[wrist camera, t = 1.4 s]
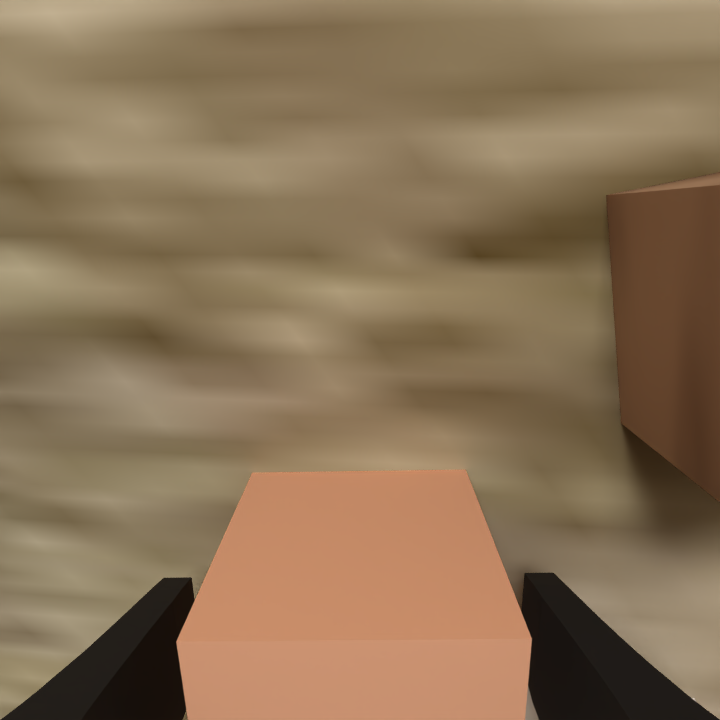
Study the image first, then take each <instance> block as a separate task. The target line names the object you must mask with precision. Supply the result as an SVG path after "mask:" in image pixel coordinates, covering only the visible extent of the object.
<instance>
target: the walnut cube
mask: <svg viewBox="0 0 720 720" xmlns="http://www.w3.org/2000/svg"><path fill="white" fill-rule="evenodd" d="M606 198H607V214H608V229H609V245H610V260H611V275H612V291H613V306H614V321H615V337H616V352H617V367H618V383H619V398H620V413H621V423H622V424H623V425H624V426H625V427H627V428H628V429H629V430H630V431H632V432H633V433H634V434H635V435H637V436H638V437H639V438H640V439H642V440H643V441H644V442H645V443H646V444H648V445H649V446H650V447H651V448H653V449H654V450H655V451H656V452H658V453H659V454H660V455H661V456H663V457H664V458H665V459H666V460H668V461H669V462H670V463H671V464H673V465H674V466H675V467H676V468H677V469H679V470H680V471H681V472H682V473H684V474H685V475H686V476H687V477H689V478H690V479H691V480H692V481H694V482H695V483H696V484H697V485H699V486H700V487H701V488H702V489H704V490H705V491H706V492H707V493H709V494H710V495H711V496H712V497H713V498H715V499H716V500H717V501H718V502H720V172H718V173H713V174H709V175H704V176H699V177H694V178H689V179H684V180H679V181H674V182H669V183H664V184H659V185H654V186H649V187H644V188H640V189H635V190H630V191H625V192H620V193H615V194H610V195H606Z"/></svg>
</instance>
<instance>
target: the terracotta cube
mask: <svg viewBox="0 0 720 720" xmlns="http://www.w3.org/2000/svg"><path fill="white" fill-rule="evenodd" d="M176 643H177V650H178V656H179V663H180V670H181V676H182V683H183V690H184V697H185V703H186V710H187V717H188V720H525V714H526V703H527V691H528V679H529V667H530V656H531V644H532V638H531V635H530V633H529V630H528V628H527V625H526V622H525V620H524V617H523V615H522V612H521V610H520V607H519V605H518V602H517V599H516V597H515V594H514V592H513V589H512V587H511V584H510V582H509V579H508V576H507V574H506V571H505V569H504V566H503V564H502V561H501V559H500V556H499V554H498V551H497V548H496V546H495V543H494V541H493V538H492V536H491V533H490V531H489V528H488V525H487V523H486V520H485V518H484V515H483V513H482V510H481V508H480V505H479V502H478V500H477V497H476V495H475V492H474V490H473V487H472V485H471V482H470V479H469V477H468V474H467V472H466V470H411V471H342V472H274V473H252V474H251V477H250V479H249V481H248V483H247V486H246V488H245V490H244V492H243V494H242V497H241V499H240V501H239V503H238V506H237V508H236V510H235V512H234V514H233V517H232V519H231V521H230V523H229V526H228V528H227V530H226V532H225V534H224V537H223V539H222V541H221V543H220V546H219V548H218V550H217V552H216V554H215V557H214V559H213V561H212V563H211V566H210V568H209V570H208V572H207V574H206V577H205V579H204V581H203V583H202V586H201V588H200V590H199V592H198V594H197V597H196V599H195V601H194V603H193V606H192V608H191V610H190V612H189V615H188V617H187V619H186V621H185V623H184V626H183V628H182V630H181V632H180V635H179V637H178V639H177V641H176Z"/></svg>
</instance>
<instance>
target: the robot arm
mask: <svg viewBox="0 0 720 720" xmlns="http://www.w3.org/2000/svg"><path fill="white" fill-rule="evenodd" d="M194 601H195V600H194V593H193V585H192V578H163V579H162V580H161V581H160V582H159V583H158V584H156V585H155V586H154V587H153V588H152V589H151V590H150V591H149V592H148V593H147V594H146V595H145V596H144V597H142V598H141V599H140V600H139V601H138V602H137V603H136V604H135V605H134V606H133V607H132V608H131V609H130V610H129V611H128V612H127V613H126V614H124V615H123V616H122V617H121V618H120V619H119V620H118V621H117V622H116V623H115V624H114V625H113V626H112V627H110V628H109V629H108V630H107V631H106V632H105V633H104V634H103V635H102V636H101V637H100V638H98V639H97V640H96V641H95V642H94V643H93V644H92V645H91V646H90V647H89V648H87V649H86V650H85V651H84V652H83V653H82V654H81V655H79V656H78V657H77V658H76V659H75V660H74V661H72V662H71V663H70V664H69V665H68V666H66V667H65V668H64V669H63V670H62V671H61V672H59V673H58V674H57V675H56V676H55V677H53V678H52V679H51V680H50V681H49V682H48V683H46V684H45V685H44V686H43V687H42V688H41V689H39V690H38V691H37V692H36V693H35V694H33V695H32V696H31V697H30V698H28V699H27V700H26V701H25V702H23V703H22V704H21V705H19V706H18V707H17V708H16V709H14V710H13V711H12V712H10V713H9V714H8V715H6V716H5V717H4V718H2V719H1V720H182V719H183V717H184V714H185V712H186V703H185V697H184V690H183V683H182V676H181V670H180V663H179V656H178V650H177V643H176V641H177V639H178V637H179V635H180V632H181V630H182V628H183V626H184V623H185V621H186V619H187V617H188V615H189V612H190V610H191V608H192V606H193V603H194ZM522 615H523V617H524V620H525V622H526V625H527V628H528V630H529V633H530V635H531V638H532V644H531V656H530V667H529V679H528V688H529V691H530V695H531V699H532V702H533V705H534V708H535V710H536V713H537V716H538V718H539V720H719V719H718V718H717V717H715V716H714V715H713V714H711V713H710V712H709V711H707V710H706V709H705V708H703V707H702V706H701V705H700V704H698V703H697V702H696V701H694V700H693V699H692V698H691V697H689V696H688V695H687V694H686V693H684V692H683V691H682V690H681V689H680V688H678V687H677V686H676V685H675V684H674V683H672V682H671V681H670V680H669V679H668V678H666V677H665V676H664V675H663V674H662V673H660V672H659V671H658V670H657V669H656V668H654V667H653V666H652V665H651V664H650V663H649V662H648V661H646V660H645V659H644V658H643V657H642V656H641V655H640V654H638V653H637V652H636V651H635V650H634V649H633V648H632V647H631V646H629V645H628V644H627V643H626V642H625V641H624V640H623V639H622V638H621V637H620V636H619V635H617V634H616V633H615V632H614V631H613V630H612V629H611V628H610V627H609V626H608V625H607V624H606V623H605V622H604V621H602V620H601V619H600V618H599V617H598V616H597V615H596V614H595V613H594V612H593V611H592V610H591V609H590V608H589V607H588V606H587V605H586V604H585V603H584V602H583V601H582V600H581V599H580V598H579V597H578V596H577V595H576V594H575V593H574V592H573V591H572V590H571V589H570V588H569V587H567V586H566V585H565V584H564V583H563V582H562V581H561V580H560V579H559V578H558V577H557V576H556V575H555V574H554V573H525V576H524V589H523V602H522Z"/></svg>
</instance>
